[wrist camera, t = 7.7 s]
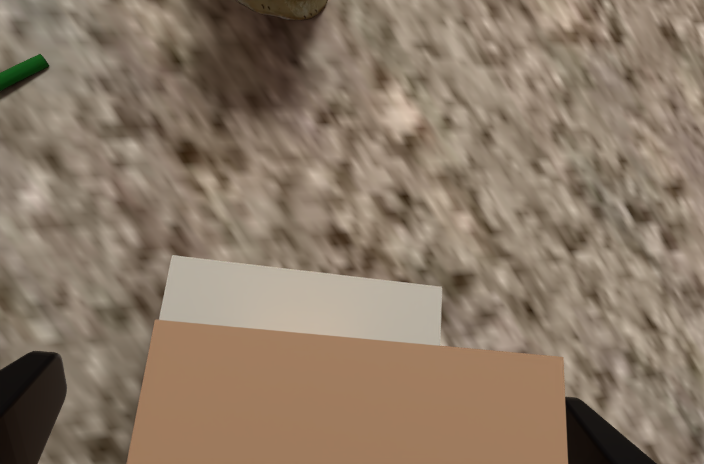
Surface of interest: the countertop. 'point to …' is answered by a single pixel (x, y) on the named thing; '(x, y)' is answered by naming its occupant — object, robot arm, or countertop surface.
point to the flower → (22, 71)
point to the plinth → (300, 301)
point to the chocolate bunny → (286, 8)
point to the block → (342, 401)
